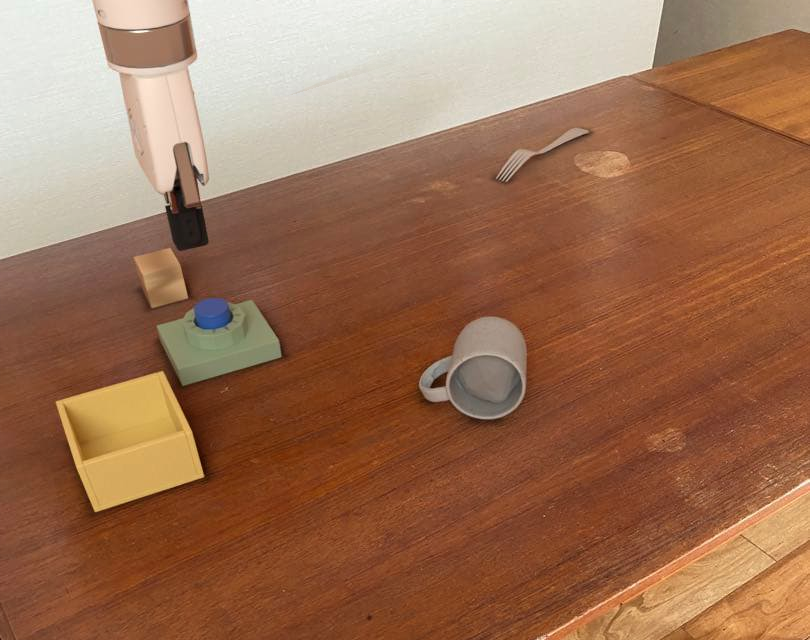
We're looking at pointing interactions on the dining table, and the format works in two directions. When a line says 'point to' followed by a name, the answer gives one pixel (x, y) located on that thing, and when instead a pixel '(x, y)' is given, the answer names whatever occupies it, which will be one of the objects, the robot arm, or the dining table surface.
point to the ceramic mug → (482, 370)
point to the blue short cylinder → (212, 313)
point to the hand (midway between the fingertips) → (191, 244)
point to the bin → (129, 440)
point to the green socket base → (218, 344)
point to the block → (161, 277)
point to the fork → (564, 138)
